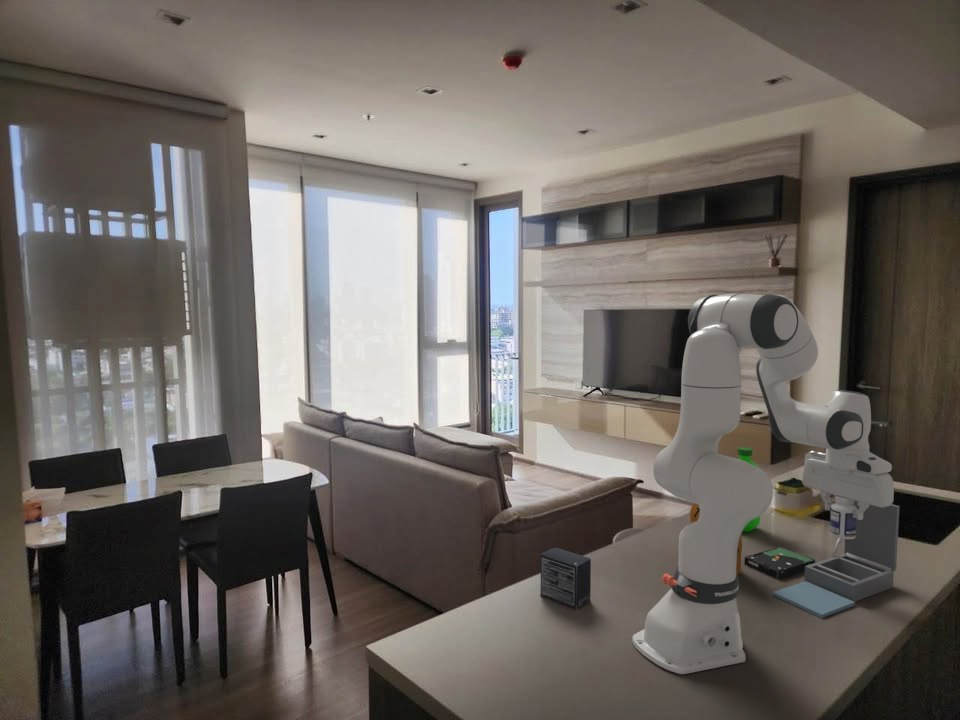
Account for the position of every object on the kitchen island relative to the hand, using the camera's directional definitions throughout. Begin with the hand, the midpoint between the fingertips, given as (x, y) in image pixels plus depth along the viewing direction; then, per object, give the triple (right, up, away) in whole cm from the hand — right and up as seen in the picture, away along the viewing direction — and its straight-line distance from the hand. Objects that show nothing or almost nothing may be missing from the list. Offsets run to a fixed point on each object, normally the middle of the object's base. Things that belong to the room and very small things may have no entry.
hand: (843, 514), depth 145 cm
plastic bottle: (-6, -15, +41) cm, 44 cm away
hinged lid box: (+3, -18, +3) cm, 18 cm away
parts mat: (-10, -19, -4) cm, 22 cm away
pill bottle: (0, -5, 0) cm, 5 cm away
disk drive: (-8, -18, +14) cm, 24 cm away
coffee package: (-26, -18, +13) cm, 34 cm away
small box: (-67, -19, -3) cm, 70 cm away
